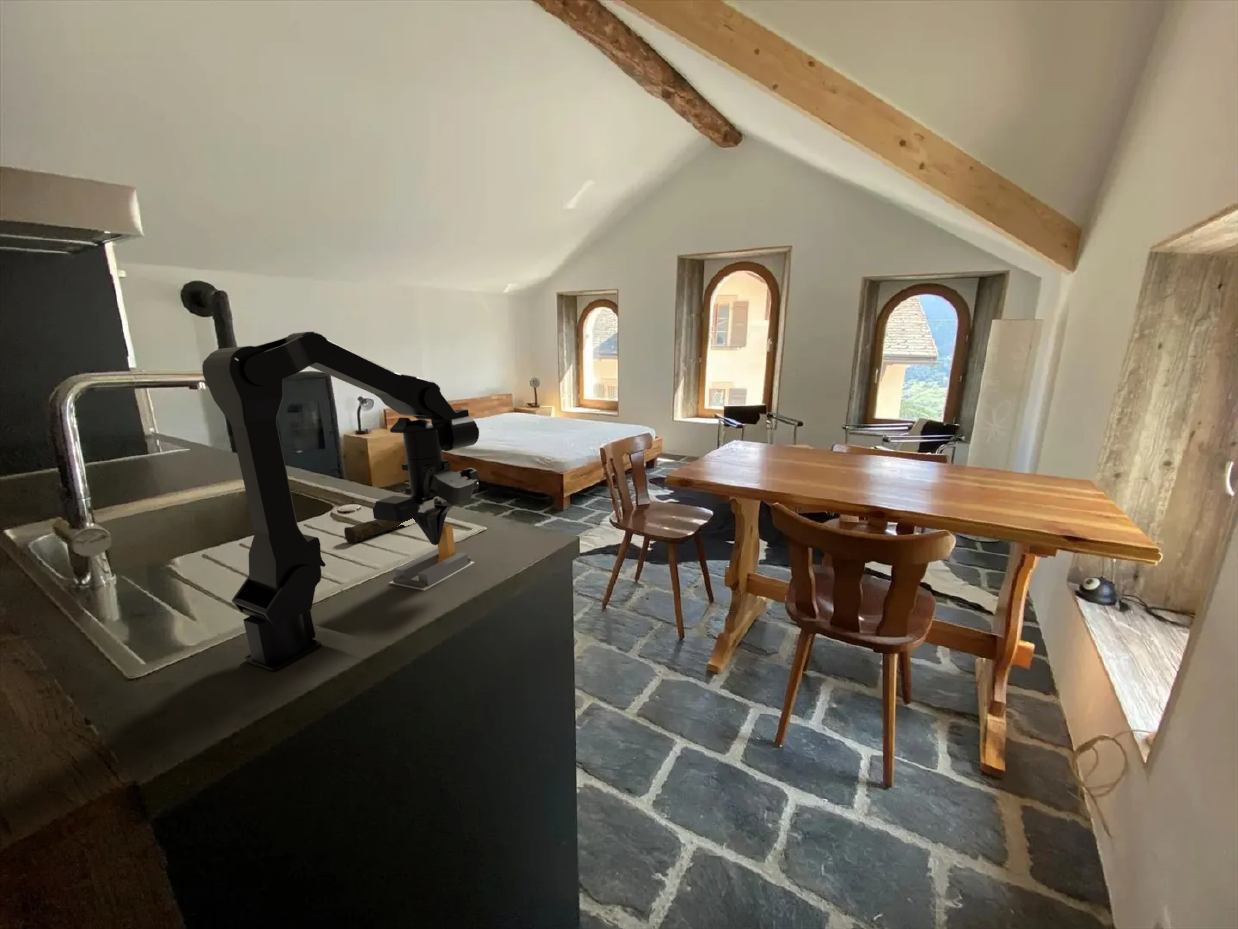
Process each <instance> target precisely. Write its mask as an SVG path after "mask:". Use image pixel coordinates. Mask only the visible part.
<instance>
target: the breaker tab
mask: <svg viewBox="0 0 1238 929" xmlns="http://www.w3.org/2000/svg"><path fill="white" fill-rule="evenodd" d="M437 549H438V552H439V559H438V563H439V562H441V561H443V560H445V559H447V558H449V557H451V556H453V555H455V554H456V546H455V538H454V529H453V524H449V523H448V524H447V523H444V525H443V530H442V534H441V538H440V542H439V544H437Z"/></svg>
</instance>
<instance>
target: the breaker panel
mask: <svg viewBox="0 0 1238 929" xmlns="http://www.w3.org/2000/svg"><path fill="white" fill-rule="evenodd" d="M438 559H439V552H438V548H437V549H434V550H432V551H430V552H428V553H426V554H424V555H421V556H419V557H417V558H415V559H413V560H411V561H409V562H407V563H404V564H403V565H400V566H398V567H396V568H394V571H395V576H394V577H393V579H392V581H390V582H388V583H389V584H391V585H397V586H401V587H407V588H412V589H417V590H421V591H426V590H428V589H430V588H432V587H433V586H435V585H437V584H440V582H443V581H444V580H446V579H448V578H450V577H451V576H453V575H455V574H456V573H459V572H460V571H462V570H464V569H465V568H468V567H469V566H471V565H473V564H475V563H476V562H475V561H472V558H471V557H470V556H469V555H468V553H466V552H456V553H455V555H453V556H451V557H449V558H447V559H445V560H443V561H441V562H439V563H438Z"/></svg>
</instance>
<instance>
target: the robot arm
mask: <svg viewBox="0 0 1238 929" xmlns="http://www.w3.org/2000/svg"><path fill="white" fill-rule="evenodd" d="M201 366H202V376H203V378H204V380H205V383H206V385H207V387H208V390H209V392H210V394H211V397H212V399H213V401H214V402H215V404H216V405H217V407H218V408H219V409H220V411H221V412H222V414H223V415H224V417H225V418H226V419H227V420H228V422H229V424H230V426H231V430H232V435H233V440H234V445H235V449H236V454H237V458H238V462H239V463H238V464H239V467H240V471H241V477H242V480H243V485H244V490H245V495H246V498H247V504H248V508H249V512H250V517H251V522H252V526H253V530H254V532H253V533H254V534H253V539H252V541H251V544H250V547H249V551H248V576H247V577H246V579H245V580H244V582H243V584H241V586H240V587H239V589H238V591H236V593H235V595H234V596H233V598H232V599H231V602H232V604H233V605H234V606H235V608H236V609H237V610H238V612H241V613H245V614H248V615H249V616H248V617H245V618H243V625H244V629H245V634H246V639H247V643H248V649H249V652H250V654H247V655H246V656H244V659H243V660H244V662H246V663H249V664H252V665H255V666H257V667H260V668H263V669H266V670H268V671H271V672H275V671H278V670H280V669H282V668H283V667H285V666H287V665H289V664H291V663H293V662H295V661H296V660H298V659H299V658H302V657H303V656H305V655H307V654H309V653H310V652H313V651H314V650H316V649H318V648H320V647H321V646H322V641H320V640H317V639H315V638H316V630H315V626H314V620H313V619H314V618H313V616H312V608H313V602H314V597H315V592H316V587H317V585H318V584H319V583H320V582H321V580H322V576H323V575H322V568H323V567H326V563H325V561H324V560H323V557H322V555H321V554H322V553H321V542H320V539H319V537H316V536H313V535H309V534H308V535H307V534H304V533H303V532H302V531H301V530H300V528H299V525H298V521H297V516H296V511H295V510H296V509H295V507H294V506H295V505H294V501H293V495H292V492H291V491H292V490H291V487H290V486H291V485H290V480H289V475H288V471H287V467H286V466H287V465H286V462H285V456H284V451H283V445H282V441H281V438H280V437H281V436H280V431H279V430H280V429H279V426H278V416H279V412H280V409H281V405H282V402H283V399H284V379H287V378H289V377H291V376H293V375H296V374H298V373H301V372H302V371H303V370H305V369H307V368H309V367H310V368H313V369H314V370H317V371H319V372H321V373H324V374H326V375H328V376H331V377H334V378H336V379H338V380H340V381H342V382H345V383H347V384H350V385H352V386H354V387H356V388H359V389H362V390H364V391H366V392H368V393H371V394H373V395H374V396H376V398H379V399H380V400H381V402H382V403H383V404H384V405H385V406H387V407H388V408H389V409H391V410H393V411H394V412H396V413H398V414H399V415H400V417H398V420H396V422H395V423H394V424H393V425H392V427H390V429H389V432H390V433H391V434H402V436H403V444H404V451H405V452H404V453H405V459H406V463H401V470H402V471H407V474H408V481H409V486H408V487H405V488H404V493H405V495H411V496H401V495H400V496H398V495H391V496H388V497H385V498H381V499H379V500H376V501H375V503H374V504H373V506H372V513H373V514H372V515H373V520H376V519H379V520H386V521H394V522H401V521H405V520H407V519H410V518H413V519H414V520H415V522H416V523H415V524H417V525H418V526H419V528H420V530H421V531H422V532H423V534H424V535H425V537H426V538H427V540H429V543H431V544H430V545H433V546H438V544H439V542H440V538H441V534H442V530H443V525H444V524H445V521H446V517H447V515H448V513H449V512H450V510H452V508H453V507H455V506H457V505H460V504H461V503H462V502H465V501H470V500H472V497H473V495H474V494H477V493H479V492H480V491H479V488H480V484H479V483H480V482H479V480H480V479H479V474H478V470H477V469H475V468H473V467H468V468H465V469H463V470H462V471H461V470H457V471H454V470H452V468H451V462H450V461H449V460H448V459H444V456H443V451H444V452H450V451H453V450H459V449H462V448H468V447H470V446H474V445H475V444H476V443H477V442H478V441H479V437H480V428H479V427H478V425H477V423H476V421H475V420H474V418H473V417H471V416H470V414H469V409H467V408H466V409H462V408H461V409H455V410H454V409H453V407H452V406H451V404H449V402H448V401H447V399H446V398H445V397H444V395H443V394H442V392H441V386H439V385H438V384H437V383H436V382H434V381H432V380H428V379H425V378H422V377H418V376H413V375H409V374H408V375H407V374H402V373H400V372H399V373H398V372H395V371H392V370H391V369H388V368H386V367H384V366H382V365H380V364H378V363H376V362H375V361H373V360H370V359H368V358H366V357H364V356H362V355H360V354H358V353H356V352H354V351H352V350H349V349H347V348H346V347H343V346H341V345H340V344H339V343H338V344H337V343H336V342H333V341H332V340H330V339H327V337H326V336H324V335H323V334H321V333H319V332H317V331H302V332H294V333H290V334H289V335H288V336H285V337H282V338H280V339H276V340H273V341H270V342H266V343H263V344H259V345H255V346H254V345H248V346H245V345H243V346H235V347H225V348H219V349H216V350H214V351H212V352H210V354H209V355H208V356H207V357H206V358H205V359H204V360H203V361H202V365H201ZM401 416H405V417H401ZM406 416H407V417H406ZM408 416H409V417H410V416H411V417H414V420H412V419H410V418H409V417H408ZM429 420H431V421H429Z"/></svg>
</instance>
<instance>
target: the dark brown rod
mask: <svg viewBox="0 0 1238 929" xmlns="http://www.w3.org/2000/svg"><path fill="white" fill-rule="evenodd" d="M410 519H412V518H410ZM410 519H407V520H405V521H408V520H410ZM405 521H401V522H394V521H386V520H379V519H373V520H369V521H365V522H363V523H360V524H356V525H354V526H348V527H347V526H345V527H344V530H343V531H344V539H345V540H346V542H347V543H348V544H350V545H355V544H357V542H363V541H364V540H365V539H369V538H371V537H373V536H376V535H379V534H381V533H384V532H388V531H390V530H393V529H392V528H394V529H396V528H395V527H397V526H399V525H400V524H401V523H403V522H405ZM399 527H400V526H399ZM397 528H398V527H397Z"/></svg>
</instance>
